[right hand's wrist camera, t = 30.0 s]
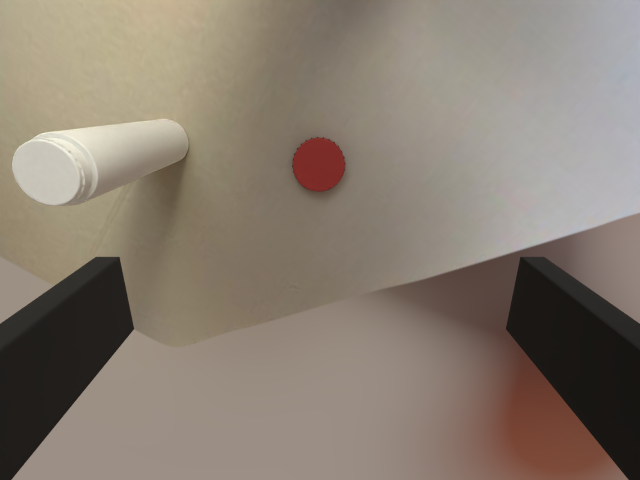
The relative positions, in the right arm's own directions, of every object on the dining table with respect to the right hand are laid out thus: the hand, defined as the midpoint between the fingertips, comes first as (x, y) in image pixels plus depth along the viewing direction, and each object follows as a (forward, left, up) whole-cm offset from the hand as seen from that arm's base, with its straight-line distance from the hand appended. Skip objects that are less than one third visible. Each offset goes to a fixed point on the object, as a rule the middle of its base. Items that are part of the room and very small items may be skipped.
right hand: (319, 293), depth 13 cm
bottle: (-8, -14, -29) cm, 34 cm away
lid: (0, 0, -28) cm, 28 cm away
